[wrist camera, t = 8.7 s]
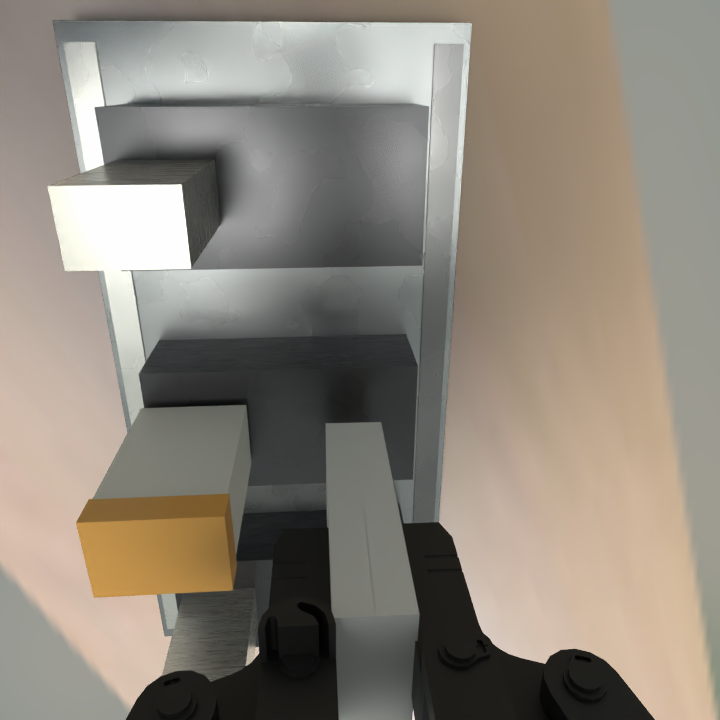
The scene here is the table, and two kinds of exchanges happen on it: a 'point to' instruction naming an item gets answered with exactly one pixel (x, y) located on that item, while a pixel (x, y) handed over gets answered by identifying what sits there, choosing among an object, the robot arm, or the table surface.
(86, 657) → the table surface
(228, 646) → the panel
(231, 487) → the handle
